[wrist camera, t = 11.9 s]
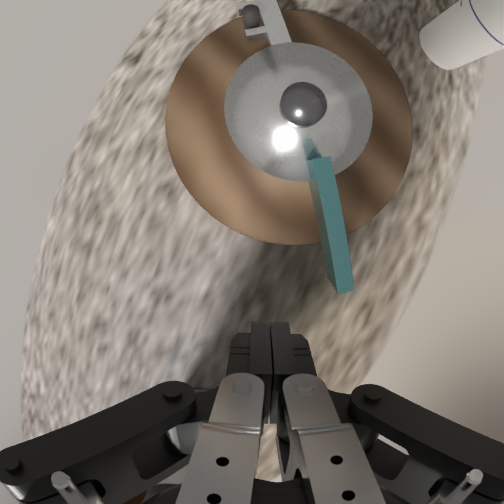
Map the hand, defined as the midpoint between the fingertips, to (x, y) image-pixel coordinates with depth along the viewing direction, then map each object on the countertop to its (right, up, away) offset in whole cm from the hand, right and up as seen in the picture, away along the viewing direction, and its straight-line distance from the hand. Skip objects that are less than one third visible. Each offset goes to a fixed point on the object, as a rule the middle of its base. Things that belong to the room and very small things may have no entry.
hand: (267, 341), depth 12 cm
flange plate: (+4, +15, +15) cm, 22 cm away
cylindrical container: (+25, +31, +15) cm, 43 cm away
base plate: (+4, +18, +19) cm, 26 cm away
